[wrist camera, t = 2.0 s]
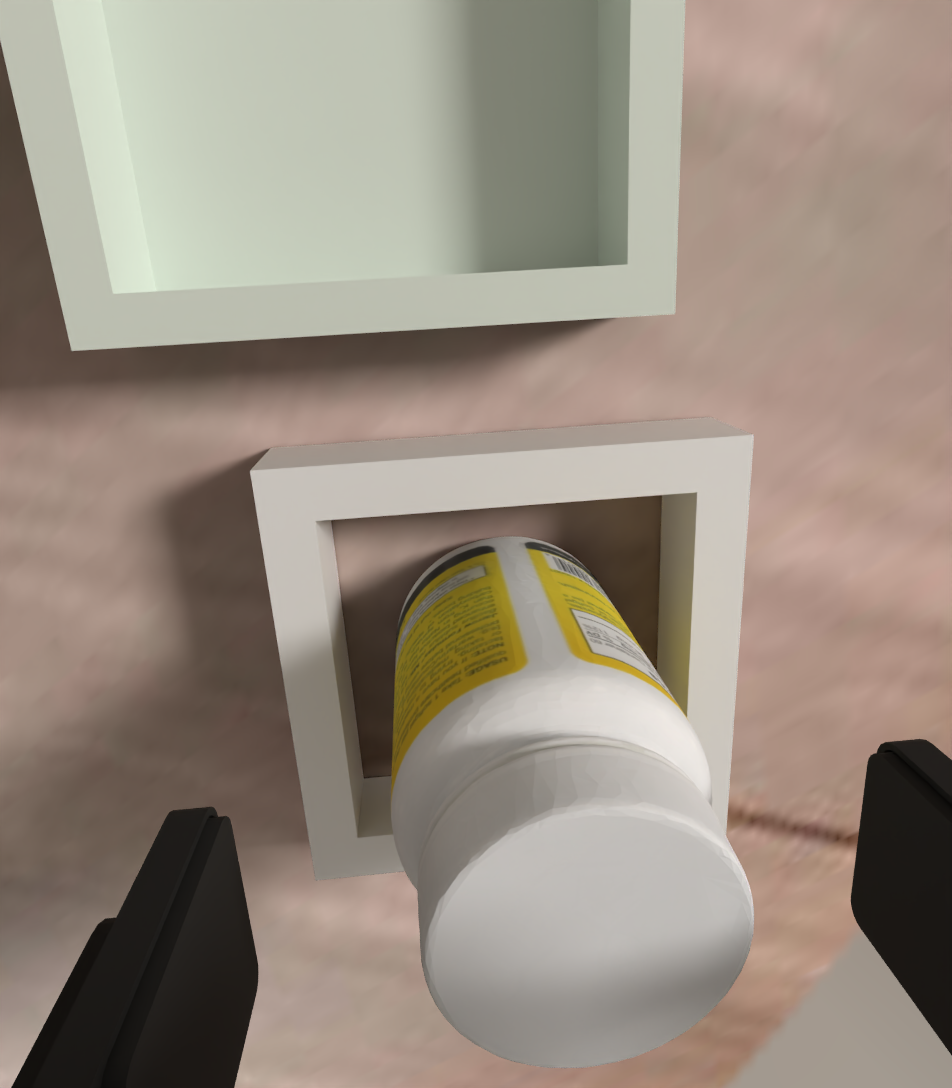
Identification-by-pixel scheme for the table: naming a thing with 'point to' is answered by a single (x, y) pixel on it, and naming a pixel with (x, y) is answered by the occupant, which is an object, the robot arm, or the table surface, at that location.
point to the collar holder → (488, 482)
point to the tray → (349, 162)
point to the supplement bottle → (555, 816)
